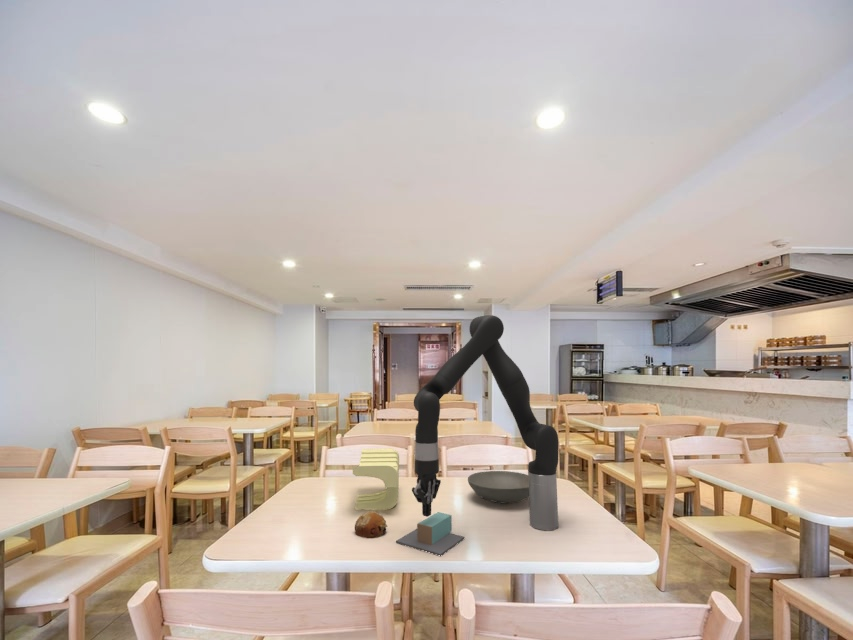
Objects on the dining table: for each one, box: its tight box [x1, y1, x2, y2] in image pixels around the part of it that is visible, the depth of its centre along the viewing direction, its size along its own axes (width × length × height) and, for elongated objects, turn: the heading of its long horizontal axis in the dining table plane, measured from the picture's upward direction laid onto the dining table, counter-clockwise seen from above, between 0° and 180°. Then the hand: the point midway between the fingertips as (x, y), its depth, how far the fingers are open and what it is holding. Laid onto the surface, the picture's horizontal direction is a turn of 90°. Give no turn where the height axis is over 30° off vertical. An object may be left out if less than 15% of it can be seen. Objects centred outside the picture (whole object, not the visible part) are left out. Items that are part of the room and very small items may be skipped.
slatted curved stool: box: [352, 448, 400, 510], centre depth 160 cm, size 30×16×18 cm, turn 3°
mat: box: [395, 528, 466, 557], centre depth 125 cm, size 14×16×1 cm
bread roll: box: [354, 510, 389, 539], centre depth 132 cm, size 10×10×8 cm
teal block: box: [416, 511, 453, 545], centre depth 127 cm, size 5×5×12 cm
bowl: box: [467, 470, 529, 504], centre depth 163 cm, size 27×28×8 cm
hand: (426, 515), depth 124 cm, fingers closed
